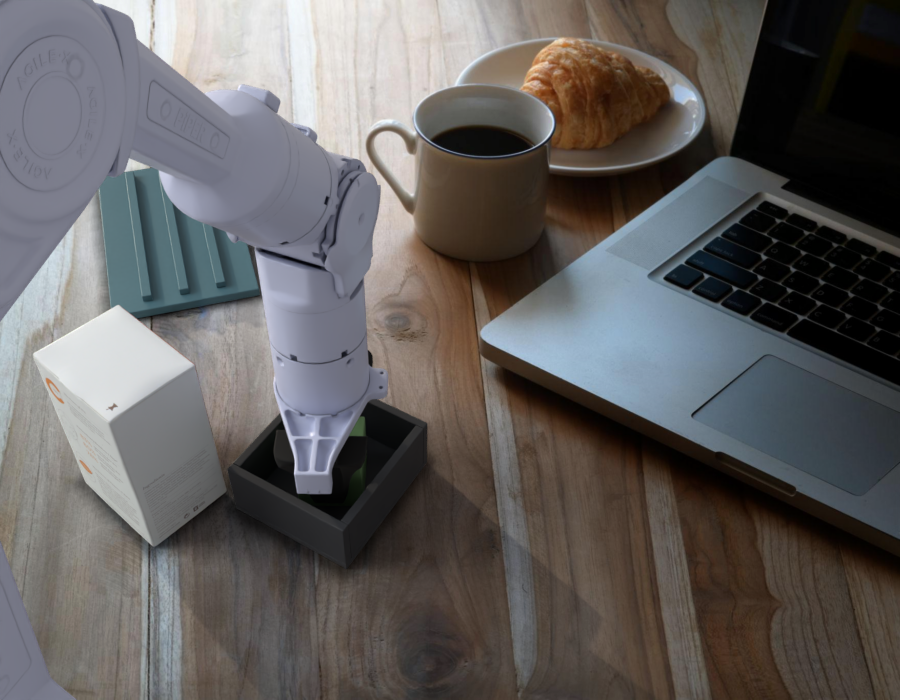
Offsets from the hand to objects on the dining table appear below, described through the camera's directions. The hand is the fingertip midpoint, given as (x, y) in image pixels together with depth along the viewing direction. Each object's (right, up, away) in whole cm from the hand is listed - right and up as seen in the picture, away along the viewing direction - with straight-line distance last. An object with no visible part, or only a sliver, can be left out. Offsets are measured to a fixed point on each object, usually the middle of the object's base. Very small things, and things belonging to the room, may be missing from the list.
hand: (332, 468), depth 64 cm
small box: (-12, -2, +1) cm, 12 cm away
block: (0, -1, +1) cm, 1 cm away
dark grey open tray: (0, -1, +1) cm, 2 cm away
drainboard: (-17, +19, +20) cm, 32 cm away
